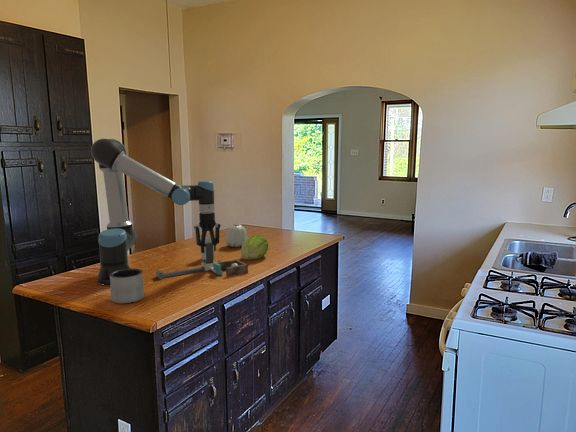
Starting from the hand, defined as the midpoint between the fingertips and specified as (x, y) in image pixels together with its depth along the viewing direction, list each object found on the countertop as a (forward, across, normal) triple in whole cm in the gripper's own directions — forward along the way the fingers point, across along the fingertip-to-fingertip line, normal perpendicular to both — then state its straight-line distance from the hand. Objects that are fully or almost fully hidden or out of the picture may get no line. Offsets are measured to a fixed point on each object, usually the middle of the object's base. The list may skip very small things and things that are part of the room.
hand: (208, 258), depth 209 cm
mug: (+6, +9, +20) cm, 23 cm away
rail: (+6, -9, 0) cm, 11 cm away
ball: (+4, +9, -10) cm, 14 cm away
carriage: (+6, 0, -5) cm, 7 cm away
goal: (+6, +7, -10) cm, 14 cm away
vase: (+6, +35, +38) cm, 52 cm away
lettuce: (+6, +29, +6) cm, 30 cm away
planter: (+6, -44, -21) cm, 49 cm away
